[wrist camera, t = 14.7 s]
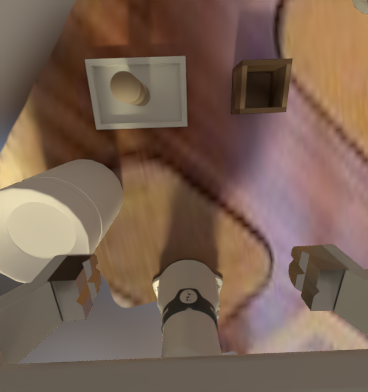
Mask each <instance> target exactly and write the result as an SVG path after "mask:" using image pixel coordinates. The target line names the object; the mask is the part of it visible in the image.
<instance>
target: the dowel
mask: <svg viewBox="0 0 368 392" xmlns="http://www.w3.org/2000/svg"><path fill="white" fill-rule="evenodd" d="M110 88H111V92H112V94H113V95H114V97H115V98H116V99H117V100H119V101H121V102H125V103H129V104H133V105H137V106H144V105H146V104H147V103H148V102H149V100H150V92H149V89H148V88H147V87H146V86H145V85H144V84H143V83H142V82H140V81H139V80H138V79H137V78H136V77H135V76H134V75H132V74H131V73H129V72H127V71H119V72H117V73H115V74H114V75H113V77H112V79H111V82H110Z"/></svg>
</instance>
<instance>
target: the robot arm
mask: <svg viewBox="0 0 368 392" xmlns="http://www.w3.org/2000/svg"><path fill="white" fill-rule="evenodd" d="M291 256H292V257H293V259H294V260H293V261H292V262H291V263H290V264H289V276H290V280H291V282H292V284H293V285H294V287H295V288H296V289H298V290H299V291H301V292H302V293H301V297H302V299H303V300H304V302H305V303H306V305H307V306H308V308H309V309H310V311H334V312H335V313H336V314H338V315H339V316H341V317H342V318H343V319H345V320H346V321H347V322H349V323H350V324H352V325H353V326H354V327H356V328H357V329H359V330H360V331H361V332H363V333H364V334H365V335H367V336H368V269H363V268H362V267H361V266H359V265H358V264H357V263H356V262H354V261H353V260H352V259H351V258H350V257H348V256H347V255H346V254H345V253H343V252H342V251H341V250H340V249H339V248H337V247H336V246H335V245H332V244H325V245H314V246H295V247H293V249H292V252H291ZM97 264H98V260H97V256H96V255H95V254H70V255H69V254H64V255H56V256H54V257H53V259H52V260H51V261H50V262H49V263H48V264H47V265H46V266H45V267H44V268H43V270H42V271H41V272H40V273H39V274H38V275H37V276H36V277H35V278H34V279H33V281H32V282H31V283H25V284H23V285H21V286H19V287H17V288H16V289H14V290H12V291H10V292H8V293H6V294H4V295H2V296H1V297H0V392H368V349H358V350H335V351H311V352H287V353H263V354H239V355H222V353H221V349H220V345H219V340H218V335H217V330H218V321H217V319H218V318H219V311H218V310H219V309H220V299H219V294H220V291H221V287H222V283H223V281H222V278H221V277H220V276H218V275H216V274H214V273H213V272H212V271H211V270H210V268H209V267H208V266H206V265H205V264H203V263H201V262H199V261H195V260H181V261H177V262H175V263H173V264H171V265H170V266H168V267H167V268H166V269H165V270H164V272H163V273H162V275H161V276H159V277H157V278H156V279H154V280H153V288H154V291H155V294H156V297H157V306H158V307H159V310H160V312H161V314H162V322H161V324H162V333H163V342H162V355H161V358H145V359H121V360H97V361H77V362H76V361H74V362H50V363H28V364H26V363H25V364H18V363H19V362H20V361H21V360H22V359H23V358H25V357H26V356H27V355H28V354H29V353H30V352H31V351H32V350H33V349H34V348H35V347H36V346H37V345H39V344H40V343H41V342H42V341H43V340H44V339H45V338H46V337H47V336H49V335H50V334H51V333H52V332H53V331H54V330H55V329H56V328H57V327H58V326H59V325H61V324H62V322H63V321H76V320H86V318H87V316H88V314H89V312H90V310H91V308H92V305H93V304H92V299H93V298H95V297H96V296H97V294H98V292H99V290H100V285H101V274H100V271H99V270H98V269H97V268H96V266H97ZM217 284H218V285H217Z"/></svg>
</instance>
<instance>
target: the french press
mask: <svg viewBox="0 0 368 392" xmlns="http://www.w3.org/2000/svg"><path fill="white" fill-rule="evenodd" d="M352 1H353V3H354V6H355V7H356V8H357V9H358V10H359V11H360V12H361V13H363V14H368V0H352Z"/></svg>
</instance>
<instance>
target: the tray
mask: <svg viewBox="0 0 368 392" xmlns="http://www.w3.org/2000/svg"><path fill="white" fill-rule="evenodd" d="M85 65H86V71H87V77H88V83H89V89H90V95H91V101H92V107H93V113H94V119H95V125H96V130H100V129H129V128H157V127H185V126H187V93H186V56H168V57H138V58H108V59H85ZM119 71H127V72H129V73H131V74H132V75H134V76H135V77H136V78H137V79H138V80H139V81H140V82H142V83H143V84H144V85H145V86H146V87H147V88H148V89H149V92H150V100H149V102H148V103H147V104H146V105H144V106H137V105H133V104H129V103H125V102H121V101H119V100H117V99H116V98H115V97H114V95H113V94H112V92H111V88H110V82H111V79H112V77H113V75H114V74H115V73H117V72H119Z"/></svg>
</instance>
